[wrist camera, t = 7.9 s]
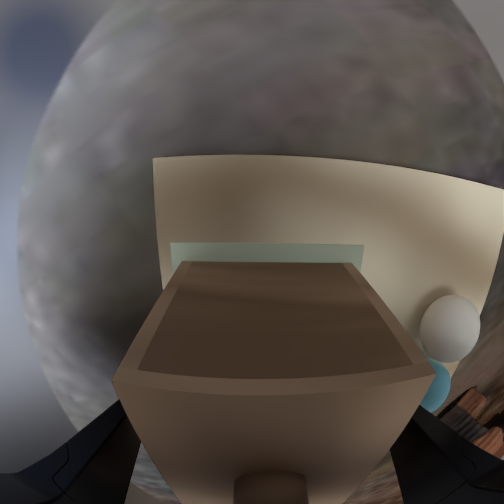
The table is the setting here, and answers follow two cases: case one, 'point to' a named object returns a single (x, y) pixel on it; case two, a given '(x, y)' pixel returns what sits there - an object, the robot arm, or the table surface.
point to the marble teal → (437, 387)
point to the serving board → (334, 223)
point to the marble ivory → (449, 328)
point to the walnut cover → (269, 382)
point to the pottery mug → (476, 423)
